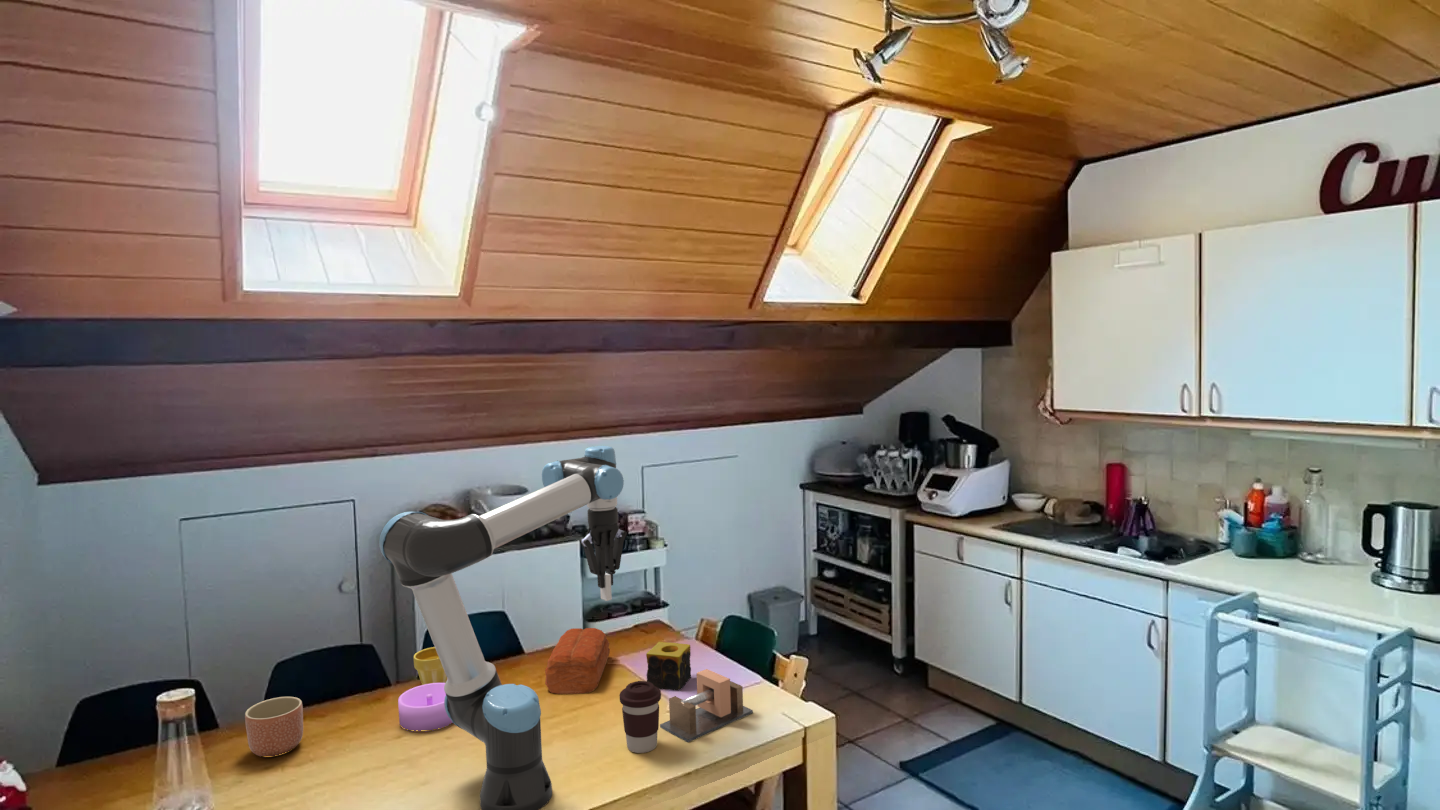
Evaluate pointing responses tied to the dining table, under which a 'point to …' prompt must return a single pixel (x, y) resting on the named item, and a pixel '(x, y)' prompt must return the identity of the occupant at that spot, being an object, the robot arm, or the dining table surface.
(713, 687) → the collar
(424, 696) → the container set
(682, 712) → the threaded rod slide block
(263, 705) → the planter
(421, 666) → the plant pot
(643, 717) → the coffee cup
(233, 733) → the dining table surface
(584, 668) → the bread
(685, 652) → the candle
